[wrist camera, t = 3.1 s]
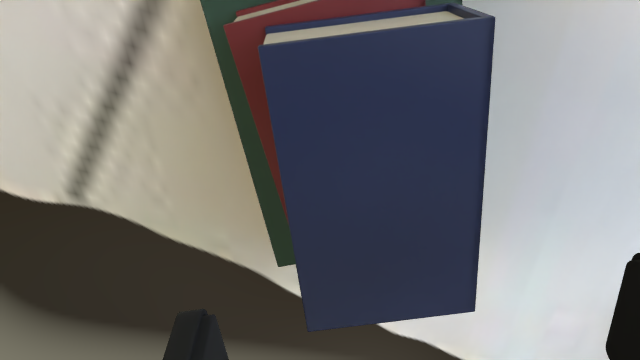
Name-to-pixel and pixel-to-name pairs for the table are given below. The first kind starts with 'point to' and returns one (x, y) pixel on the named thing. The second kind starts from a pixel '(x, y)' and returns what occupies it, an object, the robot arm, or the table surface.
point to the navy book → (382, 158)
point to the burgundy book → (249, 32)
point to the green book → (220, 10)
